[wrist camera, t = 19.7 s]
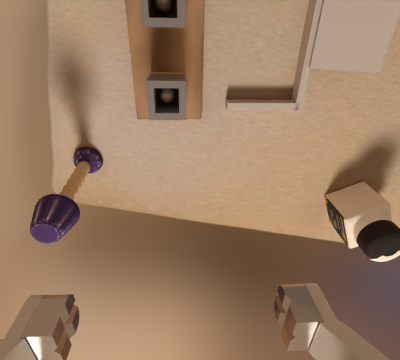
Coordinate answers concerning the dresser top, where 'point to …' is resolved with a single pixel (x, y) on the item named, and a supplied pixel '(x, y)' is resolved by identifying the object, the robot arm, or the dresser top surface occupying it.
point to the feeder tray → (336, 44)
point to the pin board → (167, 53)
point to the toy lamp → (63, 200)
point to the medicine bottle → (364, 221)
